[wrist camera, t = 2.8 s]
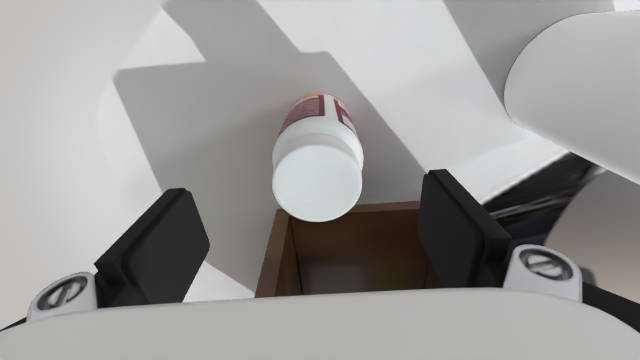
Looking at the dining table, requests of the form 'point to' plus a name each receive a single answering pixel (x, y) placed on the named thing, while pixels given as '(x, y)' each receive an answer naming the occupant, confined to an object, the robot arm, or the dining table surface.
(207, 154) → the dining table surface
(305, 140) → the pill bottle
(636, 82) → the cylindrical container
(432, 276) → the brown wooden open box
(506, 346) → the robot arm
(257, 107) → the dining table surface
